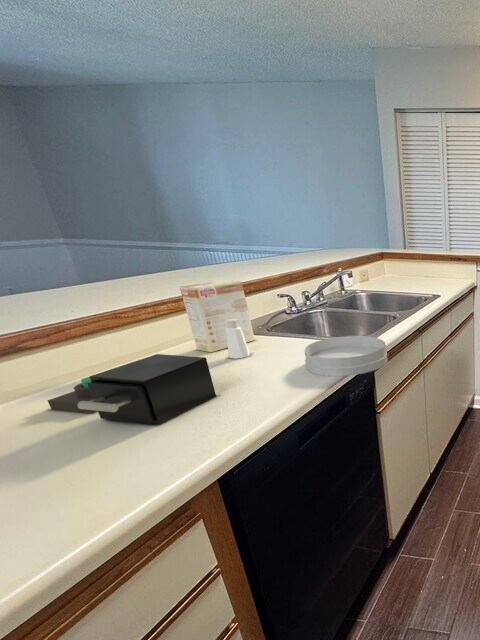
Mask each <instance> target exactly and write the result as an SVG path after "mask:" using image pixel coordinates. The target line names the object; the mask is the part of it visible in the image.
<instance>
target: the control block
mask: <svg viewBox="0 0 480 640" xmlns="http://www.w3.org/2000/svg"><path fill="white" fill-rule="evenodd" d="M73 389H74V391H70V392H68V393H64V394H61V395H59V396H56V397H53V398H50V399H48V400H47V404H48V405H49V407H50V410H51V411H60V412H61V411H62V412H70V413H71V412H72V413H82V414H93V413H96V412H97V411H95V410H85V409H79V408H78V403H79V402H80V401H91V400H93V397H92V395H91V392H90V390H89V387H88V388H84V387H83V384H82V382H81V383H80V382H79V383H78V384H76V385H75V386H73Z"/></svg>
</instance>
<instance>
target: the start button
mask: <svg viewBox="0 0 480 640" xmlns="http://www.w3.org/2000/svg"><path fill="white" fill-rule="evenodd" d="M80 382H81V383H82V384H83V387H84V388H88V385H87V383H89V382H91V380H90V377H89V376H86V377H84V378H81V380H80Z"/></svg>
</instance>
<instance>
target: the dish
mask: <svg viewBox="0 0 480 640" xmlns="http://www.w3.org/2000/svg"><path fill="white" fill-rule="evenodd" d="M386 346H387V345H386V342H385V341H384V340H383V339H382V338H378V337H374V336H365V335H346V336H344V335H343V336H337V337H330V338H324V339H321V340H317V341H314V342H312V343H310V344H308V345H307V346H305V348H304V350H303V352H304V356H305V360H304V362H305V367H306V370H307V371H308V372H310V373H312V374H313V375H318V376H322V377H323V376H324V377H349V376H358V375H362V374H367V373H371V372H373V371H376V370H378V369H381V368H382V367H384V366H386V364H387V363H388V352H387V347H386Z"/></svg>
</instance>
